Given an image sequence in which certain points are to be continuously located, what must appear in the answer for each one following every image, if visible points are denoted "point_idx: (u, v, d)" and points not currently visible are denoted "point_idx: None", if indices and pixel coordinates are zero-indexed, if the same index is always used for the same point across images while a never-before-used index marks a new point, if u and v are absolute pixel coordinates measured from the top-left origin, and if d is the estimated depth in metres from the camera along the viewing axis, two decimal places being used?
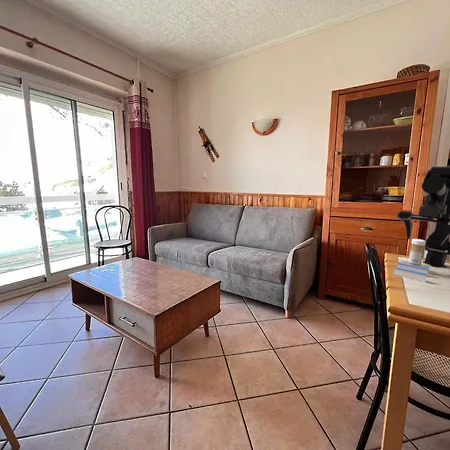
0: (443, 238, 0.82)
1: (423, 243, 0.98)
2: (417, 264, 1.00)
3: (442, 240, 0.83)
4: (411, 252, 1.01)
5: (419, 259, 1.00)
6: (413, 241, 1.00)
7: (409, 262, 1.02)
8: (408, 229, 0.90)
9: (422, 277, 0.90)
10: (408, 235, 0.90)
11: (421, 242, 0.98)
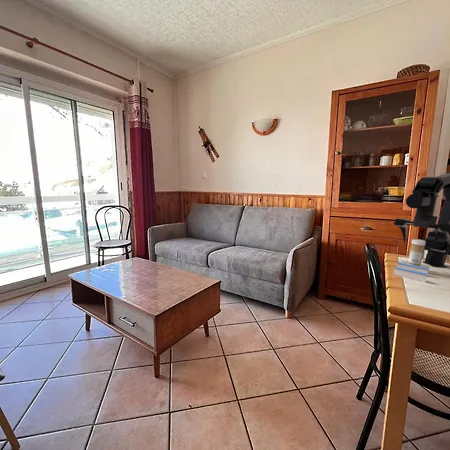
0: (434, 242, 0.96)
1: (423, 243, 0.98)
2: (417, 264, 1.00)
3: (434, 243, 0.97)
4: (411, 252, 1.01)
5: (419, 259, 1.00)
6: (413, 241, 1.00)
7: (409, 262, 1.02)
8: (404, 234, 1.03)
9: (422, 277, 0.90)
10: (404, 239, 1.03)
11: (421, 242, 0.98)
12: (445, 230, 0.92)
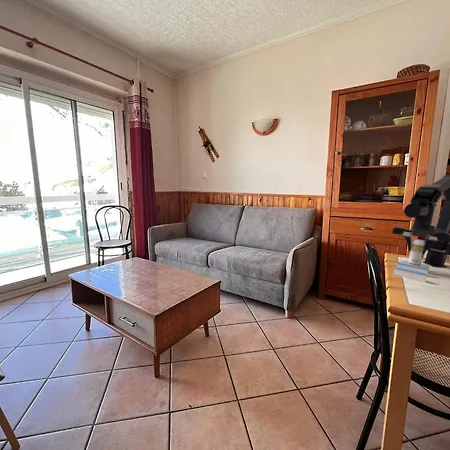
0: (425, 249, 0.98)
1: (423, 243, 0.98)
2: (417, 264, 1.00)
3: (424, 251, 0.99)
4: (411, 252, 1.01)
5: (419, 259, 1.00)
6: (413, 241, 1.00)
7: (409, 262, 1.02)
8: (409, 244, 1.02)
9: (422, 277, 0.90)
10: (409, 249, 1.02)
11: (421, 242, 0.98)
12: (443, 240, 0.93)
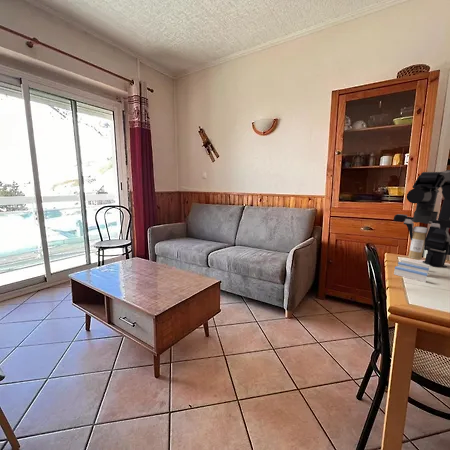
0: (427, 237, 0.96)
1: (425, 230, 0.96)
2: (419, 252, 0.98)
3: (426, 238, 0.96)
4: (413, 240, 0.99)
5: (421, 247, 0.97)
6: (415, 228, 0.98)
7: (411, 250, 1.00)
8: (410, 231, 0.99)
9: (422, 277, 0.90)
10: (411, 236, 1.00)
11: (423, 229, 0.96)
12: (446, 226, 0.90)
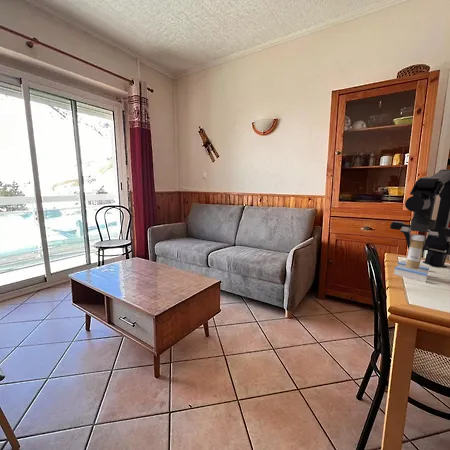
0: (425, 245, 0.92)
1: (423, 238, 0.92)
2: (416, 261, 0.94)
3: (424, 247, 0.92)
4: (410, 248, 0.95)
5: (419, 256, 0.93)
6: (412, 236, 0.94)
7: (408, 259, 0.96)
8: (408, 240, 0.95)
9: (422, 277, 0.90)
10: (408, 245, 0.96)
11: (421, 237, 0.92)
12: (444, 235, 0.86)
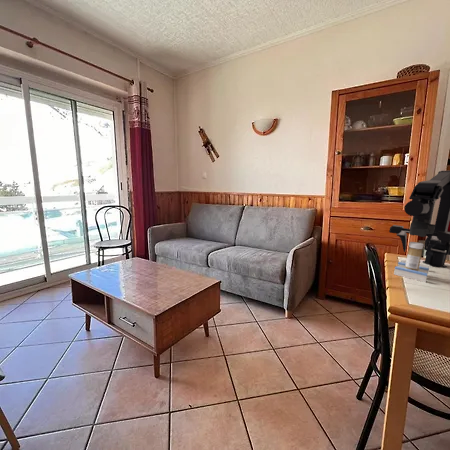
0: (428, 250, 0.91)
1: (421, 246, 0.92)
2: (415, 269, 0.94)
3: (427, 252, 0.92)
4: (408, 256, 0.95)
5: (417, 263, 0.94)
6: (410, 244, 0.94)
7: (406, 266, 0.96)
8: (404, 243, 0.96)
9: (422, 277, 0.90)
10: (404, 248, 0.97)
11: (419, 245, 0.92)
12: (443, 239, 0.86)
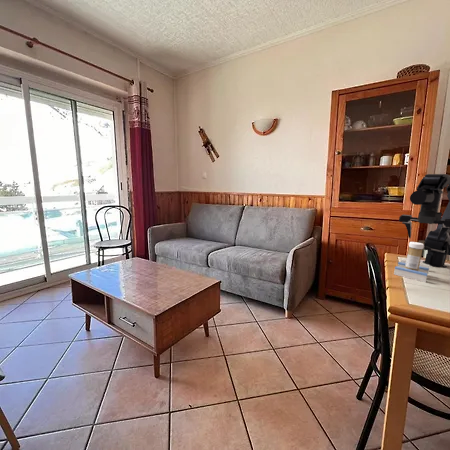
0: (439, 237, 0.98)
1: (421, 246, 0.92)
2: (415, 269, 0.94)
3: (438, 239, 0.99)
4: (408, 256, 0.95)
5: (417, 263, 0.94)
6: (410, 244, 0.94)
7: (406, 266, 0.96)
8: (409, 230, 1.05)
9: (422, 277, 0.90)
10: (409, 235, 1.05)
11: (419, 245, 0.92)
12: (449, 226, 0.94)
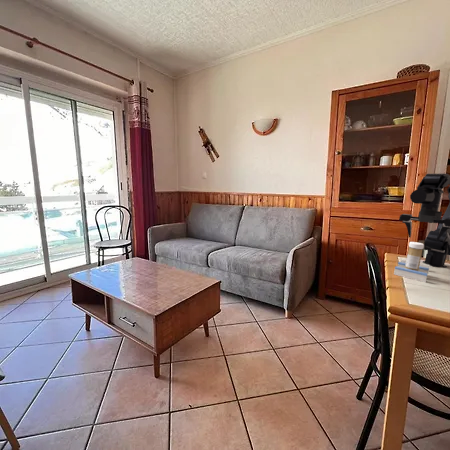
0: (439, 236, 0.99)
1: (421, 246, 0.92)
2: (415, 269, 0.94)
3: (438, 238, 0.99)
4: (408, 256, 0.95)
5: (417, 263, 0.94)
6: (410, 244, 0.94)
7: (406, 266, 0.96)
8: (409, 229, 1.05)
9: (422, 277, 0.90)
10: (409, 234, 1.06)
11: (419, 245, 0.92)
12: (449, 225, 0.95)
